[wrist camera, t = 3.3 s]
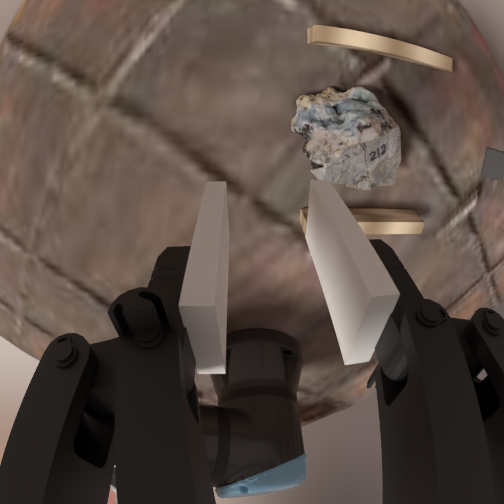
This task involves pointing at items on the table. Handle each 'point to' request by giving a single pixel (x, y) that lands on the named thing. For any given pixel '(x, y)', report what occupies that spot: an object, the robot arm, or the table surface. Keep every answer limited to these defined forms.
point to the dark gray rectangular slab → (493, 164)
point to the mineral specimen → (349, 138)
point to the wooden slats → (351, 39)
